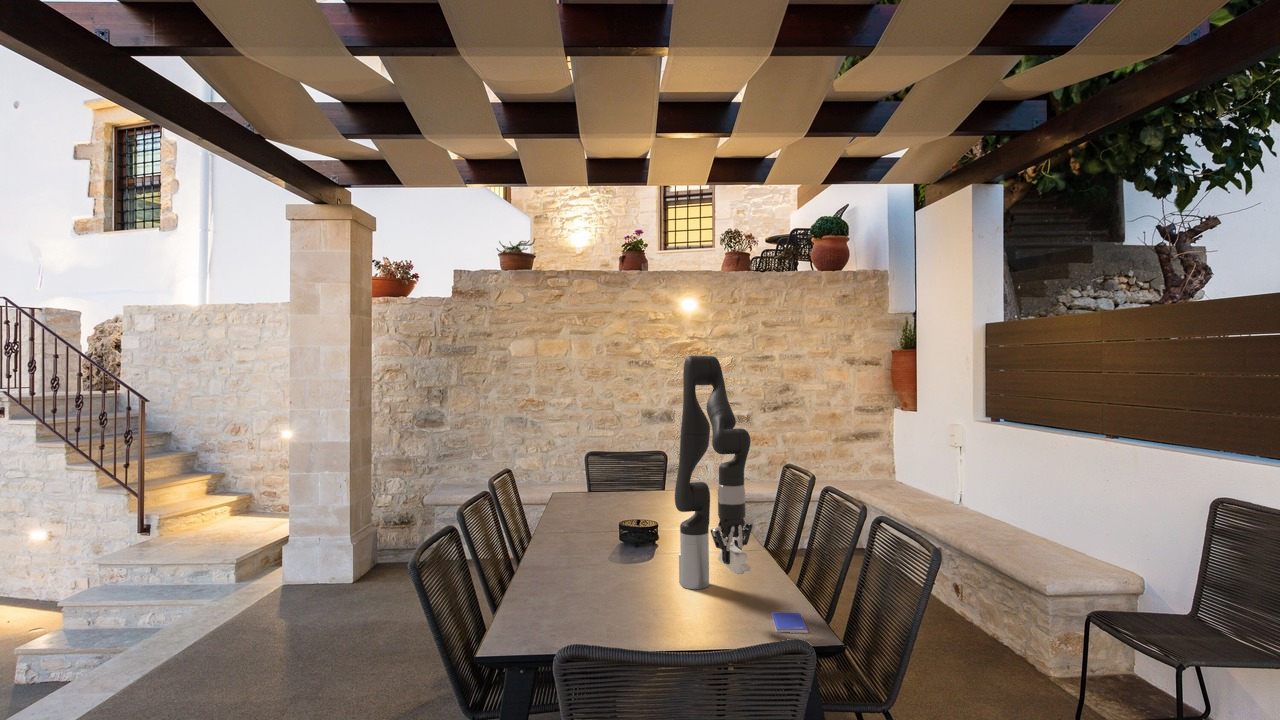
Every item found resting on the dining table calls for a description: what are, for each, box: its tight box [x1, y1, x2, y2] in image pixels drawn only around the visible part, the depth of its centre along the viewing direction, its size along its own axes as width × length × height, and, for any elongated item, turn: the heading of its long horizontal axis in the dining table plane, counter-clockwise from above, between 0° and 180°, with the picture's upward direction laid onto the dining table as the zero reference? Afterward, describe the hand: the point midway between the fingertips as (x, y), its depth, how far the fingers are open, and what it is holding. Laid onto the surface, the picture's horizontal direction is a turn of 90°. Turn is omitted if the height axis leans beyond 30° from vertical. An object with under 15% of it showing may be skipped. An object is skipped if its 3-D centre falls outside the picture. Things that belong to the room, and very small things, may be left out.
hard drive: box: [771, 612, 809, 634], centre depth 190 cm, size 2×8×12 cm
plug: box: [717, 542, 752, 575], centre depth 192 cm, size 11×3×5 cm, turn 33°
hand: (731, 562), depth 193 cm, fingers closed on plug, 3 cm apart
